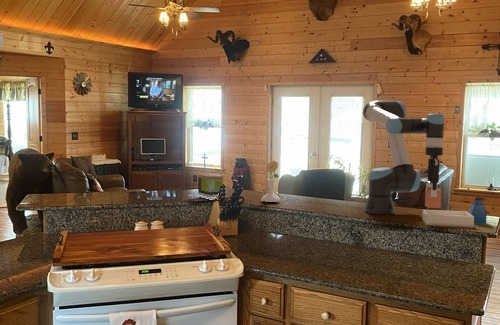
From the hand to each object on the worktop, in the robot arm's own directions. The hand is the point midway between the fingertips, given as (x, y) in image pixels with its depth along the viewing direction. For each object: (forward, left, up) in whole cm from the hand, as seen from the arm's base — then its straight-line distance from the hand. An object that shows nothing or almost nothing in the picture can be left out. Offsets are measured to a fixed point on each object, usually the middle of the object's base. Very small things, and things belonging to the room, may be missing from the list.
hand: (432, 195), depth 223 cm
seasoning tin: (0, 0, -5) cm, 5 cm away
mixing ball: (0, -1, +5) cm, 5 cm away
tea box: (-44, -121, -13) cm, 129 cm away
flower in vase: (-38, -82, -13) cm, 91 cm away
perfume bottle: (-6, +22, -13) cm, 26 cm away
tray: (0, +7, -13) cm, 15 cm away
